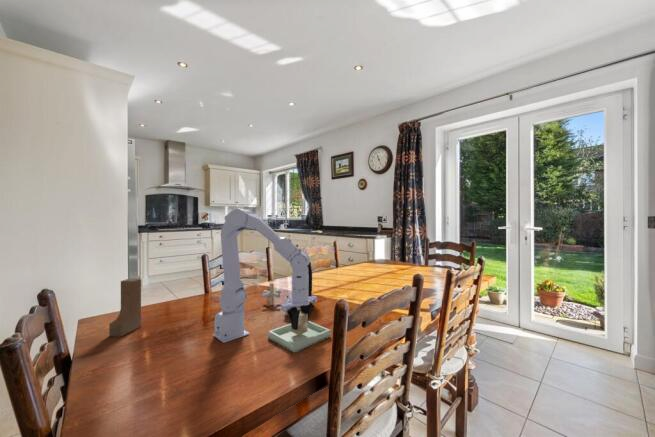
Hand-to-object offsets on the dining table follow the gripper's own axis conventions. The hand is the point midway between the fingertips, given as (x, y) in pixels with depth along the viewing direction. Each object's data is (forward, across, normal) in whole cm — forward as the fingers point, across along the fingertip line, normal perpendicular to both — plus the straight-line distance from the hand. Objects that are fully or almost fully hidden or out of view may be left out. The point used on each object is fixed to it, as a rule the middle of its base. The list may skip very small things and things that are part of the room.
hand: (299, 327), depth 95 cm
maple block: (+2, 0, 0) cm, 2 cm away
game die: (+4, +11, +18) cm, 21 cm away
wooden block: (+4, -41, +47) cm, 62 cm away
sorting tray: (+4, 0, 0) cm, 4 cm away
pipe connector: (+4, +13, +36) cm, 38 cm away
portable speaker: (+4, +25, +28) cm, 38 cm away
